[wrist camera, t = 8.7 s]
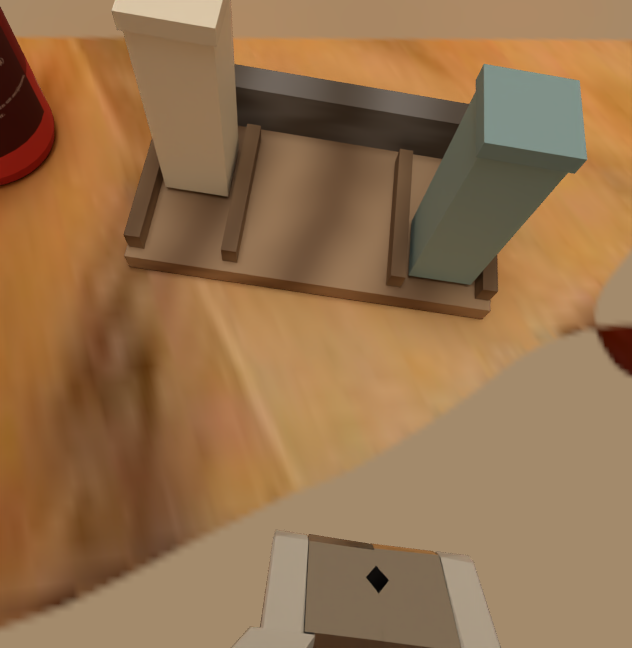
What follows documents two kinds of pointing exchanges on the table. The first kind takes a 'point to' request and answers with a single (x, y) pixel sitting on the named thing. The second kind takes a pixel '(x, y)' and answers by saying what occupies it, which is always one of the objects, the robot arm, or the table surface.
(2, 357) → the table surface
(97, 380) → the table surface
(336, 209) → the board
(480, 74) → the light blue tall block
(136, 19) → the cream tall block
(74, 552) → the table surface
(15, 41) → the canned food
